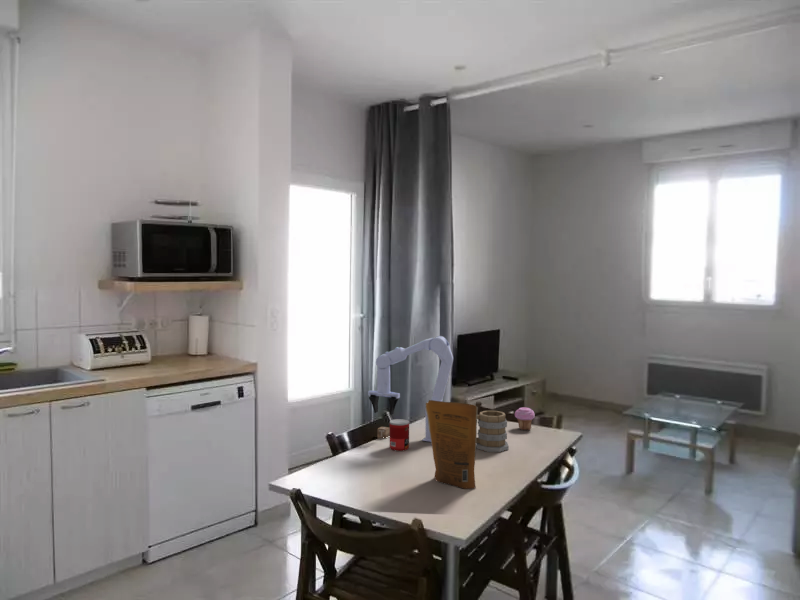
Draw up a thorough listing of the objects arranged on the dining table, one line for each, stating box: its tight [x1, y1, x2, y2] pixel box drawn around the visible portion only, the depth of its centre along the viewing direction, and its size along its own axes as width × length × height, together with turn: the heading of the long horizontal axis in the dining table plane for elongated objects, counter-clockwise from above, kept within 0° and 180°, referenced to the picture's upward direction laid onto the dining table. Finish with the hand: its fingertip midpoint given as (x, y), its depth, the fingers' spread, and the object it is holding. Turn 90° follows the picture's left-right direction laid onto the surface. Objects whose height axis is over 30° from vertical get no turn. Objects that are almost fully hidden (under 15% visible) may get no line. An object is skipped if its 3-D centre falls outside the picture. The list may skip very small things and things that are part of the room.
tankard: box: [476, 410, 509, 453], centre depth 227 cm, size 20×13×15 cm, turn 84°
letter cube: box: [376, 426, 390, 439], centre depth 242 cm, size 4×4×4 cm
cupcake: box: [514, 406, 536, 431], centre depth 255 cm, size 9×9×10 cm
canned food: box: [389, 418, 410, 452], centre depth 225 cm, size 8×8×11 cm
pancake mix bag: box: [425, 399, 479, 490], centre depth 186 cm, size 7×19×28 cm, turn 51°
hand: (383, 413), depth 241 cm, fingers open, 7 cm apart
